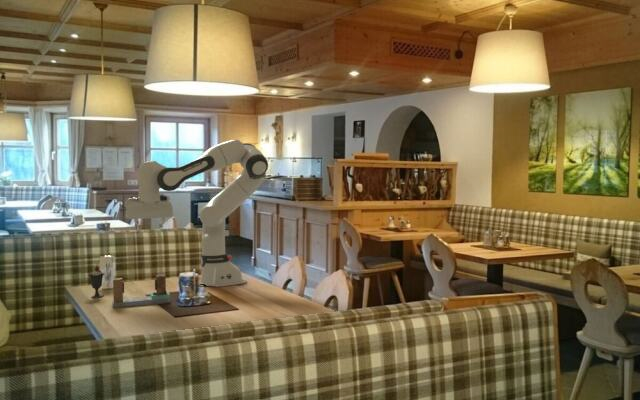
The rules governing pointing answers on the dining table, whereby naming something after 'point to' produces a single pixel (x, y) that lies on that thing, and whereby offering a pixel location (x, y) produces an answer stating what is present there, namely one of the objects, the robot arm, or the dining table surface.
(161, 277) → the walnut finger
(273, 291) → the dining table surface
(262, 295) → the dining table surface
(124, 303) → the rail
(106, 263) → the white carton
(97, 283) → the sundae
